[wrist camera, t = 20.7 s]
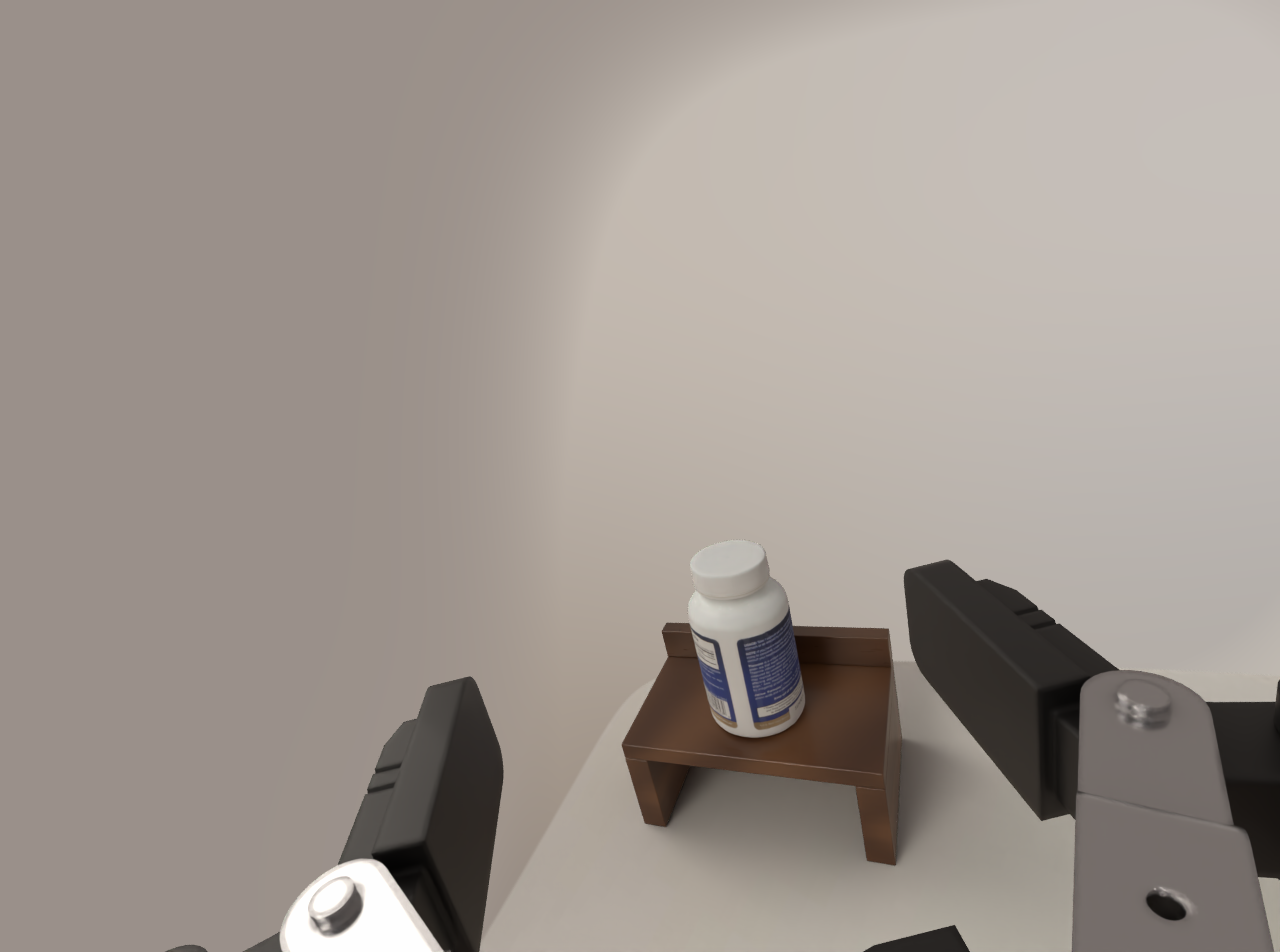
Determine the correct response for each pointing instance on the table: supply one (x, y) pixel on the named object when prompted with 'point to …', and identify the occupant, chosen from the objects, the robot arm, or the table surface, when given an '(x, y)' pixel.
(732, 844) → the table surface
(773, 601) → the pill bottle
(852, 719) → the shelf
